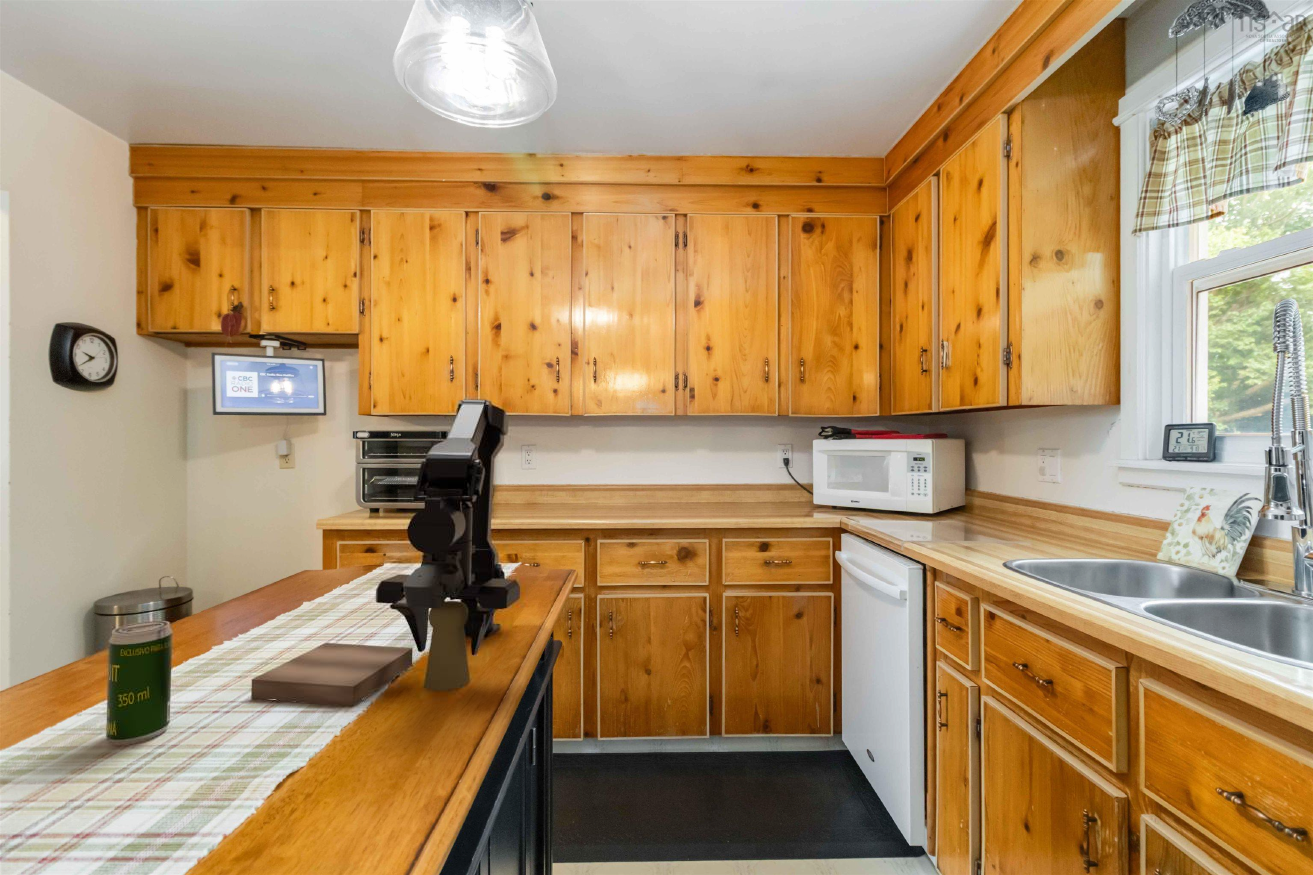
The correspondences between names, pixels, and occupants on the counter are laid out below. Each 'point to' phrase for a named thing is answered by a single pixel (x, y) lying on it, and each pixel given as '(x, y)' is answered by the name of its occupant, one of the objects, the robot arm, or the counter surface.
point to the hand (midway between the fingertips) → (447, 652)
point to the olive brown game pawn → (447, 648)
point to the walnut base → (333, 674)
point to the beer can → (139, 682)
